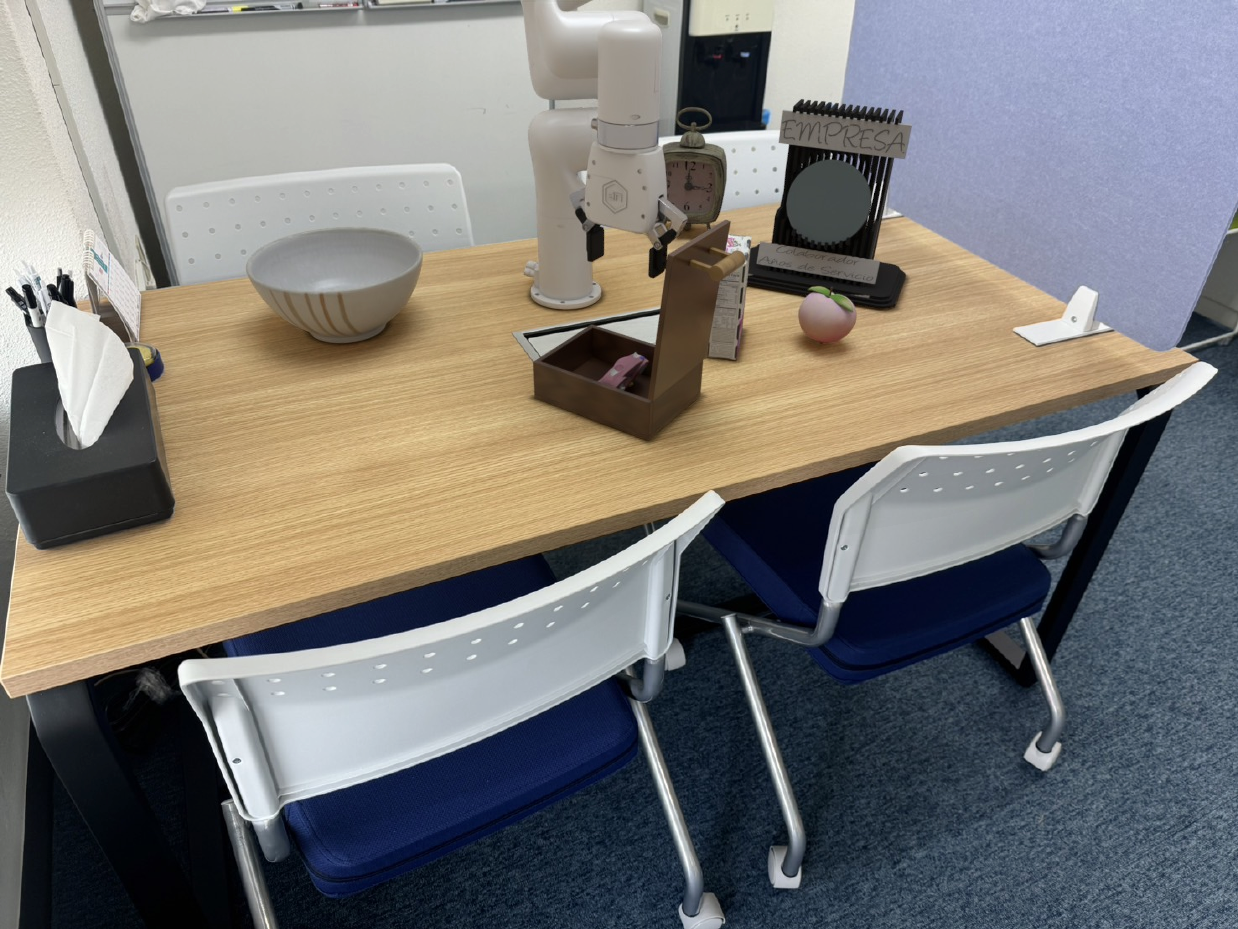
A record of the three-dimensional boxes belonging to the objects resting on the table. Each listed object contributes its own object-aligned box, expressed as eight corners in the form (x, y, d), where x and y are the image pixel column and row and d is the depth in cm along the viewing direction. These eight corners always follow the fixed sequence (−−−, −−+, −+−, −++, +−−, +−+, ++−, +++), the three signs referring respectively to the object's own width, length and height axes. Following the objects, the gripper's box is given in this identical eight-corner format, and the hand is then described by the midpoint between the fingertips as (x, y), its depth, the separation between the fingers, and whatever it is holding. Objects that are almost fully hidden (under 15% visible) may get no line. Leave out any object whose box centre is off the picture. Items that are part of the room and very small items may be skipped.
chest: (534, 398, 126) (532, 361, 122) (591, 358, 136) (591, 324, 132) (648, 441, 117) (650, 403, 114) (700, 395, 127) (703, 359, 124)
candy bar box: (713, 327, 146) (721, 232, 136) (742, 330, 145) (753, 235, 135) (705, 358, 137) (713, 259, 127) (736, 361, 136) (747, 262, 126)
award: (726, 282, 161) (742, 113, 143) (752, 248, 175) (771, 90, 157) (892, 312, 151) (932, 136, 134) (907, 273, 166) (944, 109, 148)
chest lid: (667, 254, 101) (709, 269, 99) (725, 219, 111) (764, 232, 109) (647, 399, 114) (684, 415, 111) (701, 356, 124) (736, 370, 121)
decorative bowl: (303, 383, 128) (286, 308, 121) (238, 319, 144) (220, 249, 137) (460, 333, 142) (453, 263, 135) (384, 280, 159) (375, 215, 151)
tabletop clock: (649, 237, 179) (654, 110, 164) (655, 222, 186) (660, 99, 171) (719, 243, 177) (731, 115, 162) (722, 227, 184) (733, 103, 170)
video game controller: (603, 417, 123) (623, 385, 118) (579, 396, 124) (598, 364, 119) (639, 388, 130) (659, 357, 125) (616, 368, 131) (635, 336, 126)
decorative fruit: (782, 343, 141) (790, 286, 135) (809, 327, 146) (819, 271, 140) (832, 363, 136) (843, 304, 130) (858, 345, 141) (870, 288, 135)
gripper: (553, 129, 107) (556, 261, 117) (673, 151, 99) (667, 291, 109) (587, 117, 112) (588, 245, 122) (705, 138, 105) (695, 272, 114)
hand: (625, 266), depth 116 cm, fingers open, 9 cm apart
